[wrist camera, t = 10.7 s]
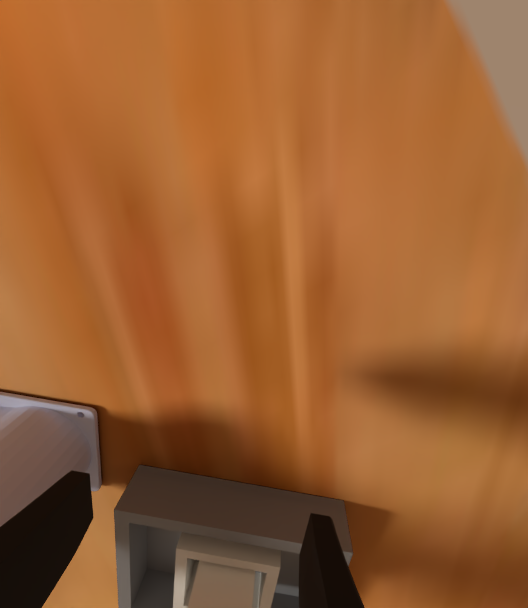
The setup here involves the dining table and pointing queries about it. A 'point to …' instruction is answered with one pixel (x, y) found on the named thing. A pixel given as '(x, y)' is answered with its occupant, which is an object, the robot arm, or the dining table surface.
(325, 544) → the robot arm
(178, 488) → the caddy
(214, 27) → the dining table surface
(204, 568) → the block
